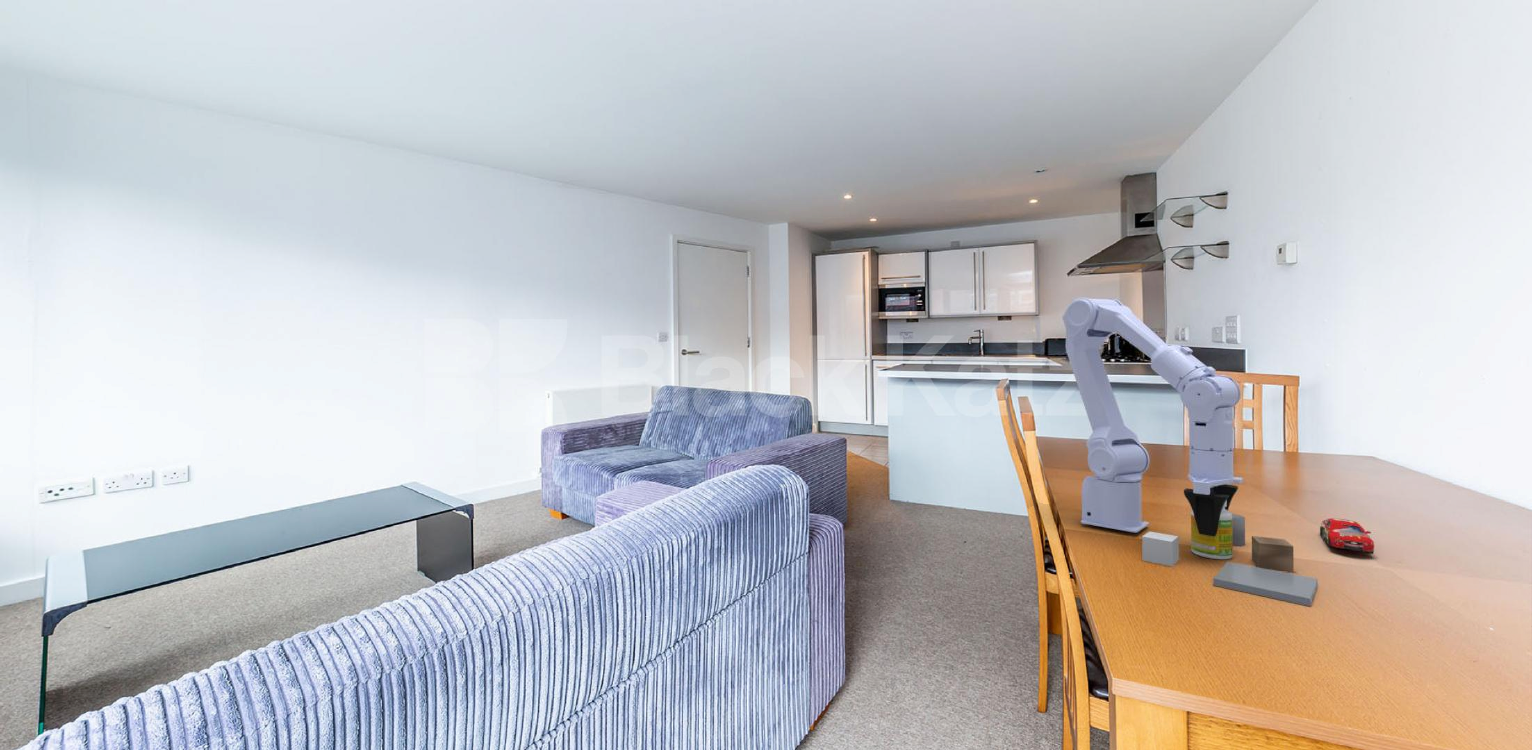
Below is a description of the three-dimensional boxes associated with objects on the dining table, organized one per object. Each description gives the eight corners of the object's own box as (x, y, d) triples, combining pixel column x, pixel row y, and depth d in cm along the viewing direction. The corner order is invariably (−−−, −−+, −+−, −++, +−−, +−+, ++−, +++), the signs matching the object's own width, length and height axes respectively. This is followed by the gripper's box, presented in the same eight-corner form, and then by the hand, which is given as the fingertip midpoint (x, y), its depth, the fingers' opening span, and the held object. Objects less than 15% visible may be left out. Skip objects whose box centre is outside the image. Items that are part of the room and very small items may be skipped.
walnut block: (1259, 568, 88) (1259, 542, 87) (1251, 560, 91) (1251, 535, 91) (1293, 572, 86) (1293, 546, 86) (1284, 564, 89) (1284, 539, 89)
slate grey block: (1213, 544, 99) (1213, 515, 99) (1218, 539, 102) (1217, 511, 102) (1242, 549, 96) (1242, 520, 96) (1247, 544, 99) (1246, 515, 99)
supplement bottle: (1223, 562, 90) (1223, 501, 90) (1185, 553, 95) (1184, 495, 95) (1238, 556, 93) (1238, 496, 93) (1200, 547, 98) (1199, 491, 98)
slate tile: (1213, 585, 81) (1213, 578, 81) (1227, 567, 88) (1227, 561, 88) (1310, 606, 74) (1310, 598, 74) (1317, 585, 80) (1317, 578, 80)
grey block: (1142, 560, 92) (1142, 536, 92) (1149, 555, 94) (1149, 531, 94) (1172, 567, 89) (1171, 541, 89) (1178, 561, 91) (1178, 536, 91)
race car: (1377, 558, 89) (1377, 532, 89) (1329, 551, 93) (1329, 526, 93) (1361, 540, 99) (1361, 517, 99) (1318, 534, 103) (1318, 512, 103)
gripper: (1233, 456, 86) (1234, 545, 86) (1250, 446, 96) (1250, 527, 96) (1177, 451, 91) (1177, 536, 91) (1198, 442, 101) (1198, 519, 101)
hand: (1211, 531), depth 94 cm, fingers closed on supplement bottle, 5 cm apart
